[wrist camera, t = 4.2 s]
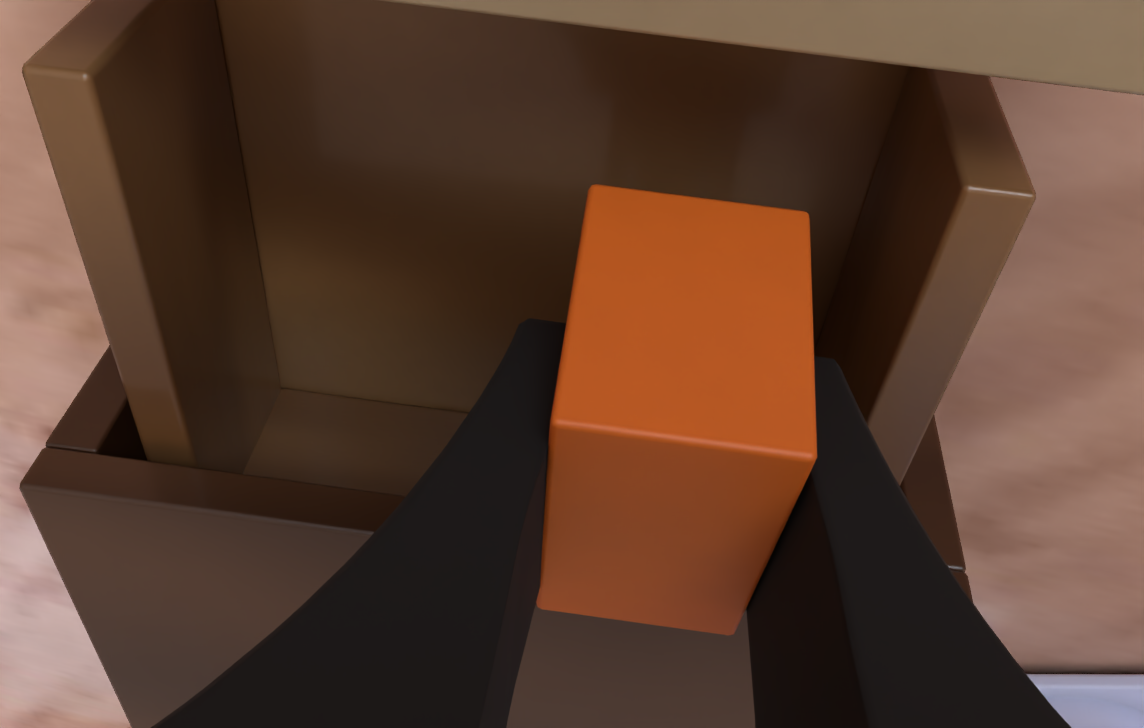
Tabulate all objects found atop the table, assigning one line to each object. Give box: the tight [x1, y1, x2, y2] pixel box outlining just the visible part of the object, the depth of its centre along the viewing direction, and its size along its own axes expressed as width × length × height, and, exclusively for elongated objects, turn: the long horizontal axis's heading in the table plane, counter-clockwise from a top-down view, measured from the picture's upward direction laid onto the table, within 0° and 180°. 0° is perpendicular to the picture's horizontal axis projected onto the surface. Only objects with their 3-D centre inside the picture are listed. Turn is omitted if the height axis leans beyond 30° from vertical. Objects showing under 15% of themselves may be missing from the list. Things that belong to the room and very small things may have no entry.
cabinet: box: [20, 346, 973, 728], centre depth 21 cm, size 13×14×7 cm
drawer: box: [22, 0, 1144, 496], centre depth 13 cm, size 16×12×5 cm
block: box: [536, 184, 817, 635], centre depth 12 cm, size 6×2×3 cm, turn 176°
